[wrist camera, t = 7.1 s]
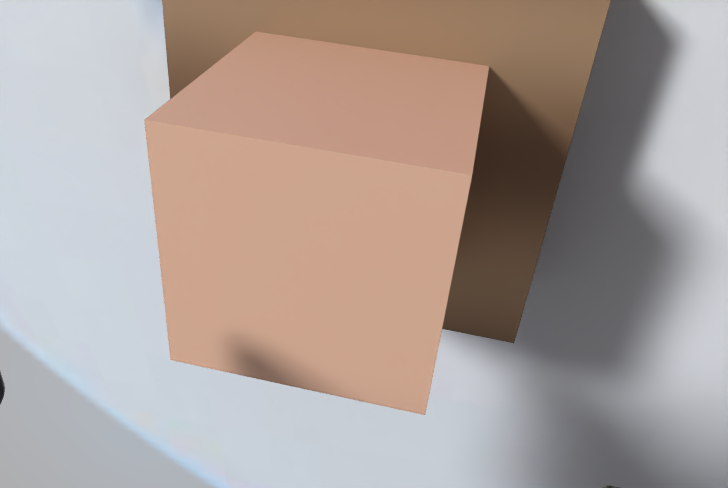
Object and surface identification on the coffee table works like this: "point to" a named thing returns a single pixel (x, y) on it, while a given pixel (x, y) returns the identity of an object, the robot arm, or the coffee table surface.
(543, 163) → the base slab
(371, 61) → the cube
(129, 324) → the coffee table surface
